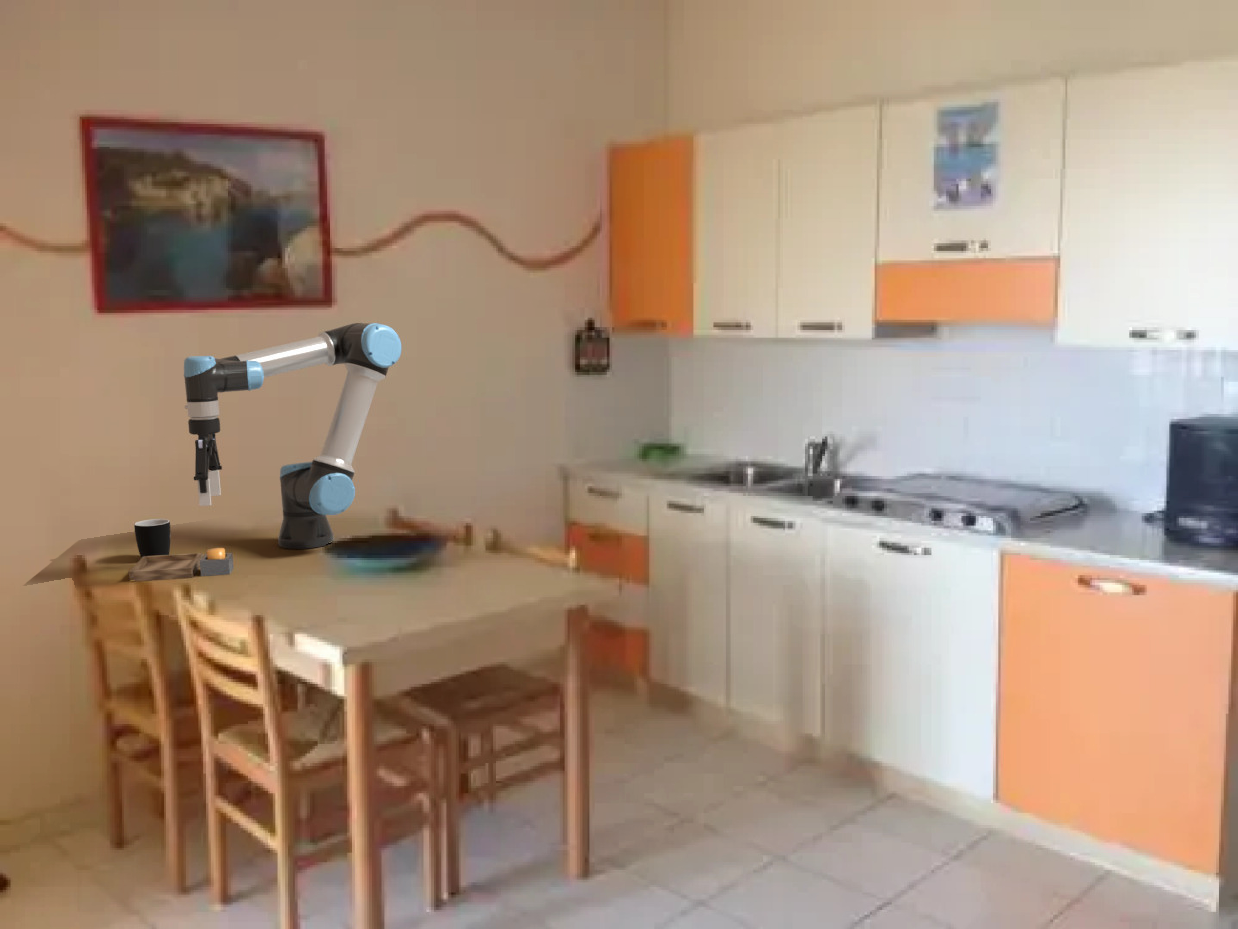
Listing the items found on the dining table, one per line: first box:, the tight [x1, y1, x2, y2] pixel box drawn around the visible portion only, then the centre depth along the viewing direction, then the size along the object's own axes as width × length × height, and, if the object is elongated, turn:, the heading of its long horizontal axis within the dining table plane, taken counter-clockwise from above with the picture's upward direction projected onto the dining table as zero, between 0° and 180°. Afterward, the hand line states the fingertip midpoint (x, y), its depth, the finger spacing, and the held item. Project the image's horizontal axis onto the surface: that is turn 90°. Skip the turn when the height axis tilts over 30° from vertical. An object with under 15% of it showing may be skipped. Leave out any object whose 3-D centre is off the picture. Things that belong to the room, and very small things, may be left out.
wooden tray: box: [128, 552, 204, 582], centre depth 312 cm, size 15×17×2 cm
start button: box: [206, 547, 226, 559], centre depth 310 cm, size 4×4×5 cm
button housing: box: [199, 552, 234, 577], centre depth 310 cm, size 7×7×4 cm
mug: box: [134, 518, 171, 559], centre depth 327 cm, size 12×9×10 cm
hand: (210, 500), depth 308 cm, fingers open, 13 cm apart
